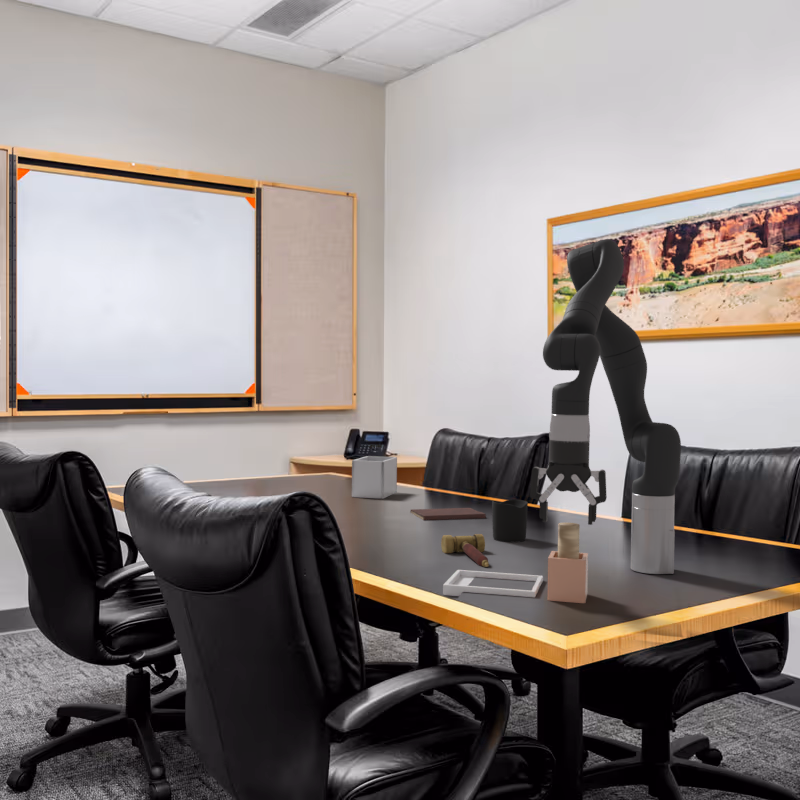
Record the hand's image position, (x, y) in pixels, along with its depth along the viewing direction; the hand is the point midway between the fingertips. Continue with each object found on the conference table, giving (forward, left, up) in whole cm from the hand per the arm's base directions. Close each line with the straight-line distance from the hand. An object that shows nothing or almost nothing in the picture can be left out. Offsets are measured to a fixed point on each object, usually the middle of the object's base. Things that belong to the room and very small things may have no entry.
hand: (567, 522), depth 165 cm
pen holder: (+20, -61, -16) cm, 66 cm away
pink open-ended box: (0, 0, -15) cm, 15 cm away
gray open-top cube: (+79, -131, -15) cm, 153 cm away
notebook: (+44, -94, -16) cm, 105 cm away
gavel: (+24, -34, -16) cm, 44 cm away
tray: (+15, -5, -15) cm, 22 cm away
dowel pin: (0, 0, -14) cm, 14 cm away
